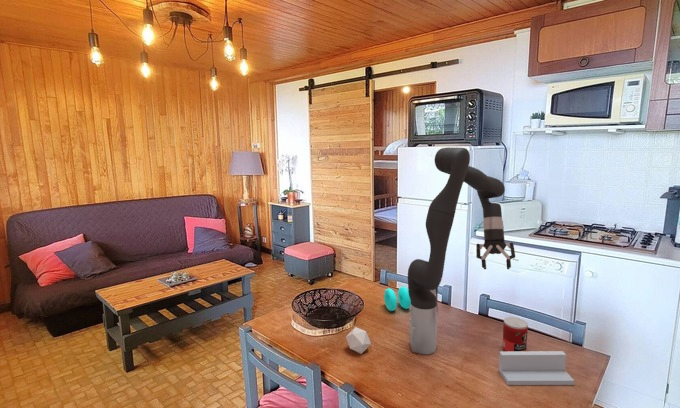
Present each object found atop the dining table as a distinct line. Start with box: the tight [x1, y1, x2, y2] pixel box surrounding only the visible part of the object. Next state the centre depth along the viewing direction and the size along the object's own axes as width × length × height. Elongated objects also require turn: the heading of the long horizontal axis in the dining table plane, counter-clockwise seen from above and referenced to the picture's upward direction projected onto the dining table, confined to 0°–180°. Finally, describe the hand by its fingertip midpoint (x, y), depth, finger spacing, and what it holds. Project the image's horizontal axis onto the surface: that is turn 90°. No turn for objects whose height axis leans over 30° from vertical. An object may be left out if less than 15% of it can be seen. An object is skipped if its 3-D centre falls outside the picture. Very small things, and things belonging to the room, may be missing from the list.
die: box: [345, 326, 372, 355], centre depth 133 cm, size 8×9×10 cm
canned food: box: [502, 316, 529, 352], centre depth 129 cm, size 8×8×11 cm
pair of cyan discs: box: [383, 286, 411, 312], centre depth 165 cm, size 10×10×10 cm
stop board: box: [498, 350, 575, 386], centre depth 114 cm, size 20×7×7 cm, turn 87°
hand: (496, 269), depth 145 cm, fingers open, 8 cm apart
